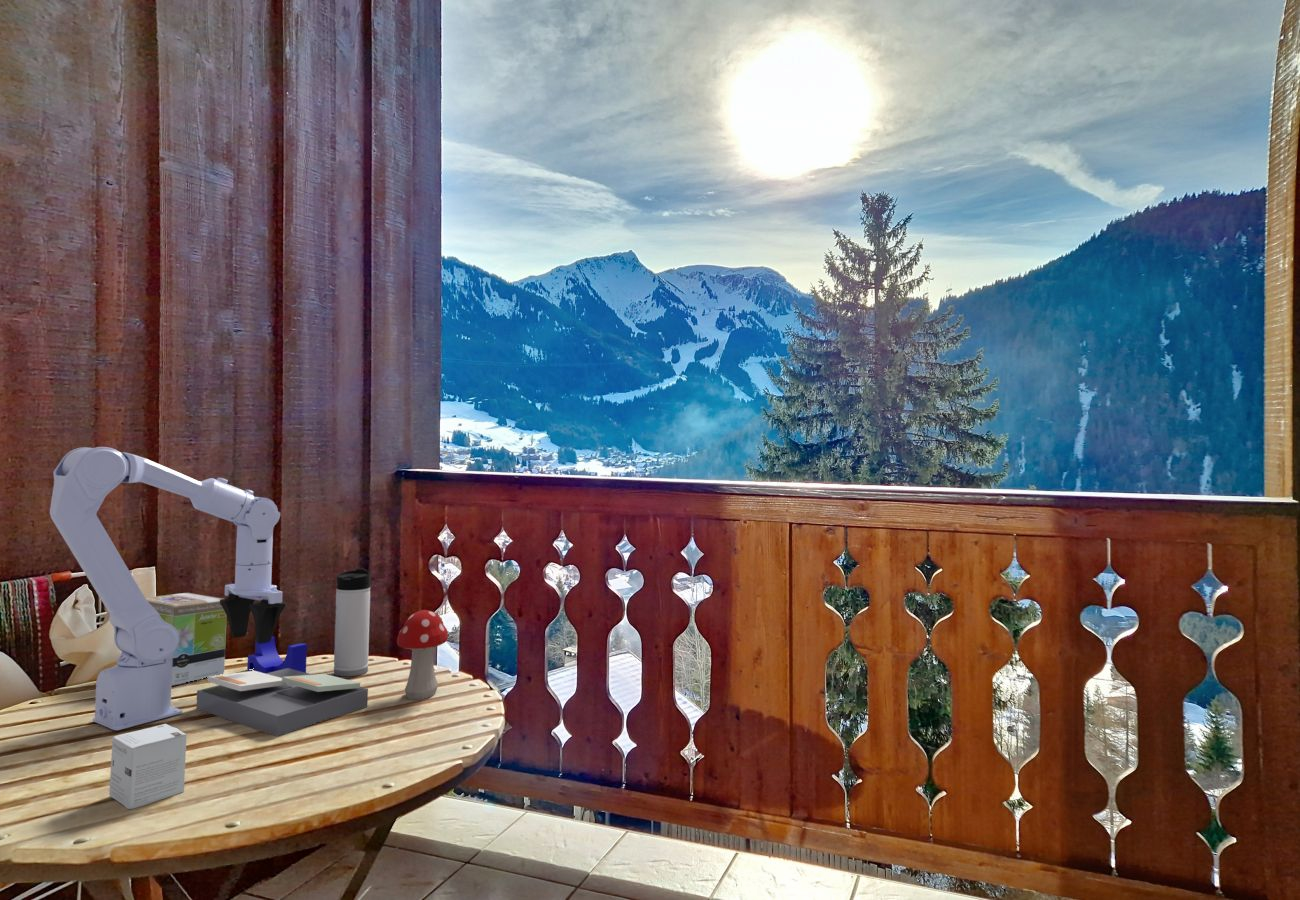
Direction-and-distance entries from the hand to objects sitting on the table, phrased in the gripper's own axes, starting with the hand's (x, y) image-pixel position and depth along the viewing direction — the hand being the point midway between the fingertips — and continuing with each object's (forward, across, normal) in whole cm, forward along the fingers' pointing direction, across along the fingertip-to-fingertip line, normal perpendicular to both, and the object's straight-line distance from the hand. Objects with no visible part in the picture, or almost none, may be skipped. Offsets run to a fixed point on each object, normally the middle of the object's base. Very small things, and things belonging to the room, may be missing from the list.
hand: (251, 639), depth 126 cm
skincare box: (+10, -28, +29) cm, 41 cm away
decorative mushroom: (+10, -26, -16) cm, 32 cm away
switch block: (+9, -12, -1) cm, 15 cm away
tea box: (+10, +22, +1) cm, 24 cm away
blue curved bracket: (+10, +8, -10) cm, 16 cm away
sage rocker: (+5, -18, -2) cm, 19 cm away
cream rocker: (+5, -7, +4) cm, 10 cm away
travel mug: (+10, -4, -18) cm, 21 cm away
